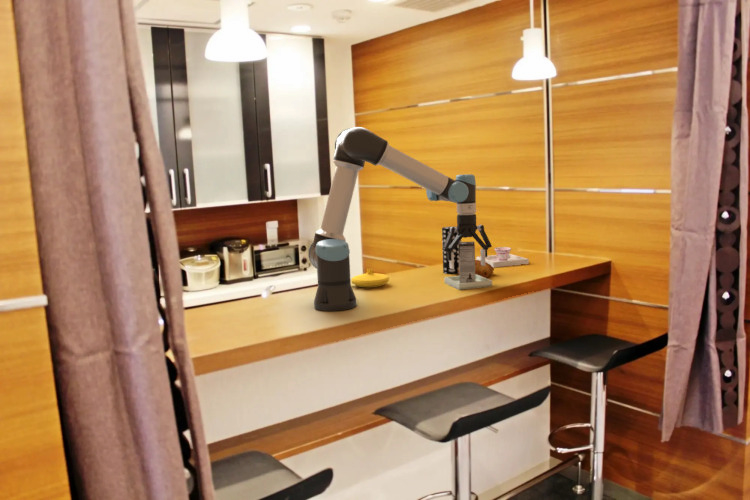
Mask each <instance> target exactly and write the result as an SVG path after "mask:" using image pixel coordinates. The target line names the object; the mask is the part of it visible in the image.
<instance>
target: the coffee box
mask: <svg viewBox="0 0 750 500" xmlns="http://www.w3.org/2000/svg"><path fill="white" fill-rule="evenodd" d="M458 248H459V274H458V276H459V280H460V283H469V282H475V260H476V253H475V252H476V249H475V248H476V244H475V241H461V242H459V245H458Z"/></svg>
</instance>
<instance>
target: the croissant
mask: <svg viewBox="0 0 750 500" xmlns="http://www.w3.org/2000/svg"><path fill="white" fill-rule="evenodd" d="M485 265H486V266H482V265H481V261H480V260H476V259H475V274H477V275H479V276H482V277H485V278H489V277H492V276H493V275H494V271H495V267H492V266H491V265H490V264H488V263H487V262H485ZM458 273H459V268H458Z"/></svg>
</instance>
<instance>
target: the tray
mask: <svg viewBox="0 0 750 500" xmlns="http://www.w3.org/2000/svg"><path fill="white" fill-rule="evenodd" d="M444 284H446V285H448V286H450V287H452V288H454V289H456V290H458V291H463V290H464V291H465V290H472V289H482V287H483V288H491V287H490V286H492V287H493V280H492V279H490V278H488V277H486V278H485V277H482V276H479V275H477V274H475V282H469V283H460V280H459V275H454V276H445V277H444Z"/></svg>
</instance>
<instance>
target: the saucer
mask: <svg viewBox="0 0 750 500" xmlns="http://www.w3.org/2000/svg"><path fill="white" fill-rule="evenodd" d="M495 258H497V254H495V255H493V254H491V255H487V257H485V262H487V263H488V264H490V265H491V266H492V267H493V268H501V267H513V265H514V266H521V264H525V265H529V263H530V262H529V261H530V259H529V258H526V257H524V256H520V255H515V254H512V253H509V258H513V259H516V260H508V261H498V262H493V261H491V259H495ZM475 260H480V261H481V255H480V256H475Z"/></svg>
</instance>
